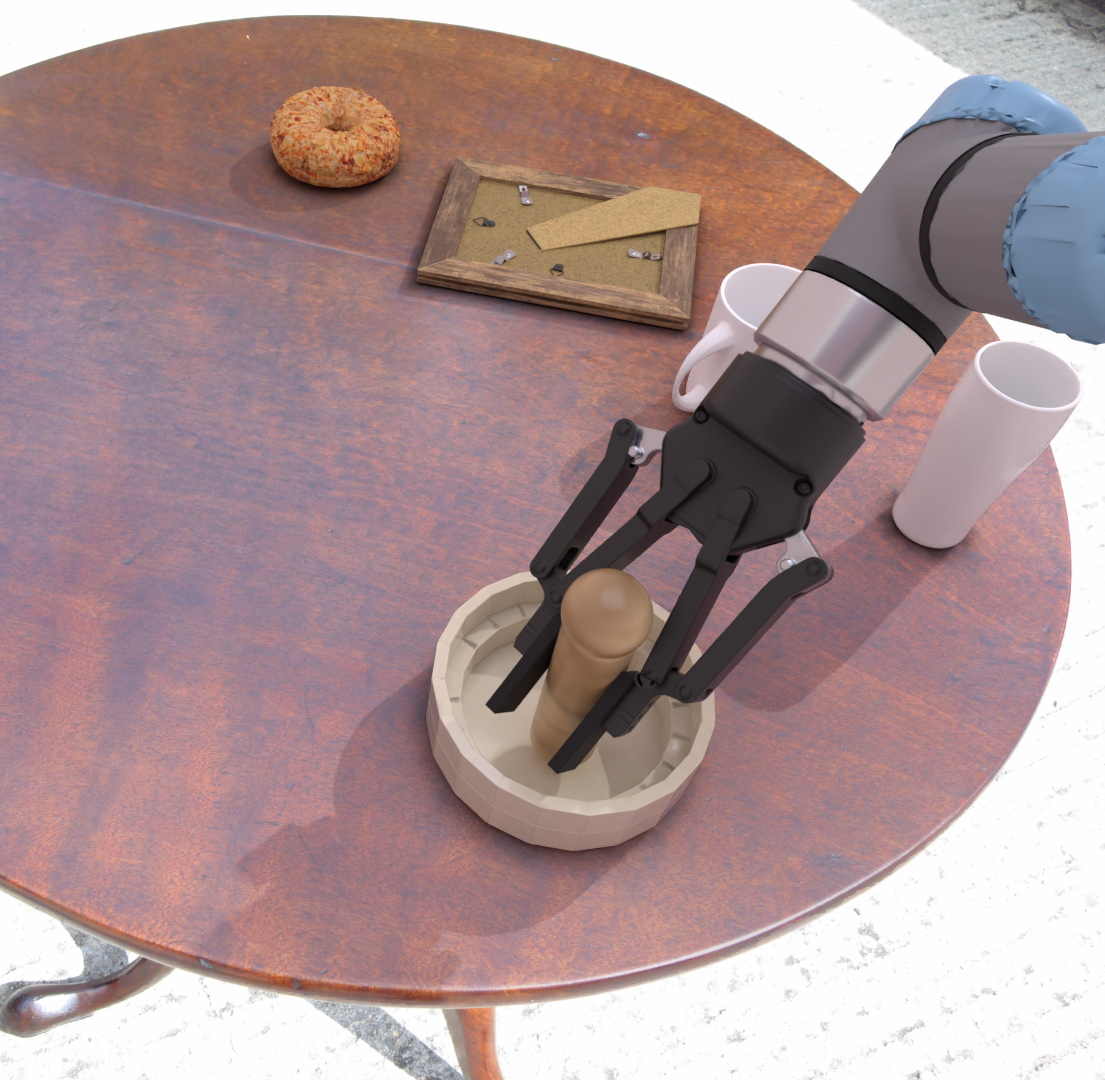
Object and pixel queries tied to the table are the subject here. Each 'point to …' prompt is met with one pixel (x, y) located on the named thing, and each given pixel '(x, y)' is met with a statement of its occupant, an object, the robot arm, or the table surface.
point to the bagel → (334, 137)
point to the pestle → (589, 652)
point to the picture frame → (565, 242)
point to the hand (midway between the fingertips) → (530, 736)
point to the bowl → (509, 757)
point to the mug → (731, 327)
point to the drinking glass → (985, 439)
